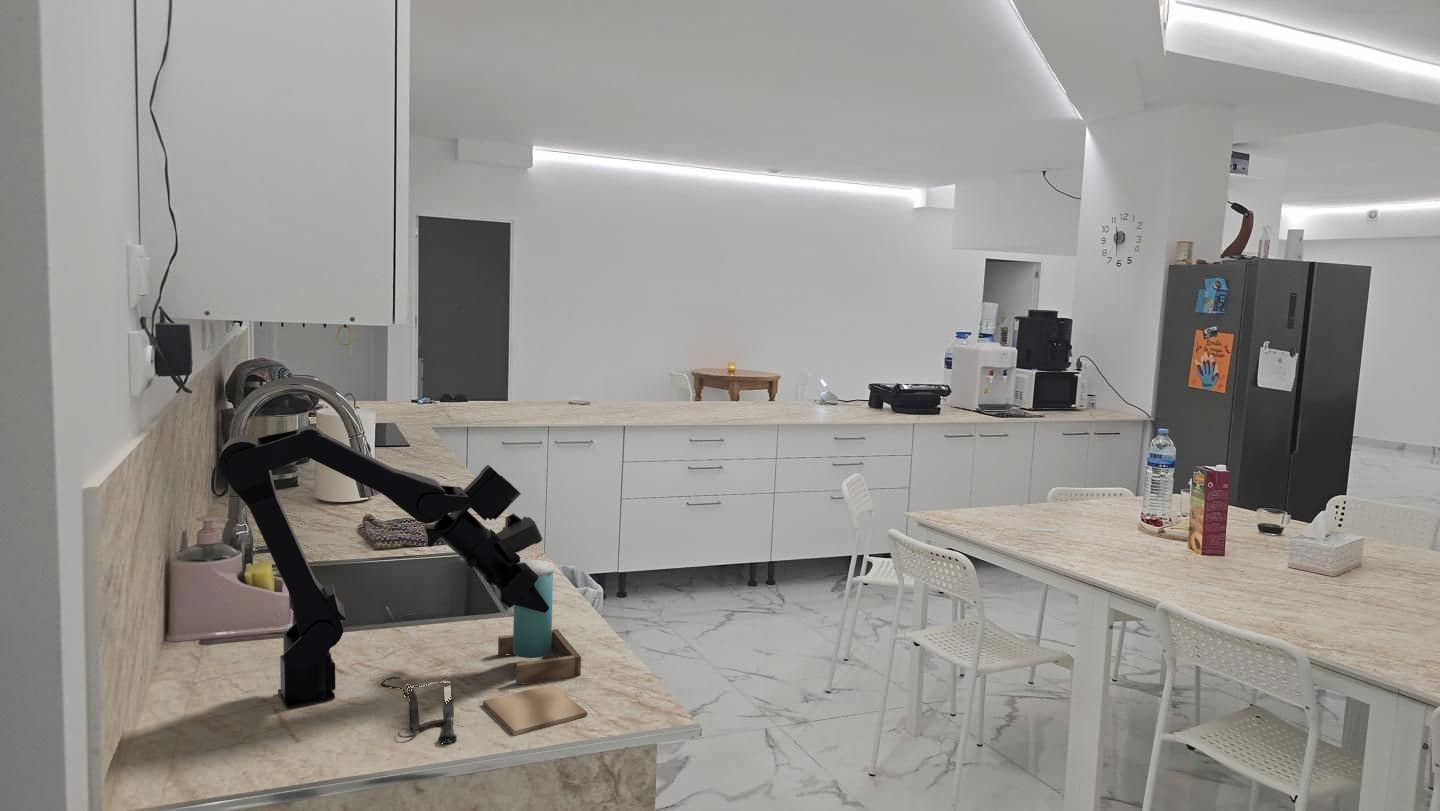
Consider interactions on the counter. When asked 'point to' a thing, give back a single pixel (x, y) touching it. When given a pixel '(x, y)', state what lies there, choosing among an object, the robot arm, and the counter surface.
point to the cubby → (545, 660)
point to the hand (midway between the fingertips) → (541, 604)
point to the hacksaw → (414, 724)
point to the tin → (535, 617)
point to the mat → (534, 709)
